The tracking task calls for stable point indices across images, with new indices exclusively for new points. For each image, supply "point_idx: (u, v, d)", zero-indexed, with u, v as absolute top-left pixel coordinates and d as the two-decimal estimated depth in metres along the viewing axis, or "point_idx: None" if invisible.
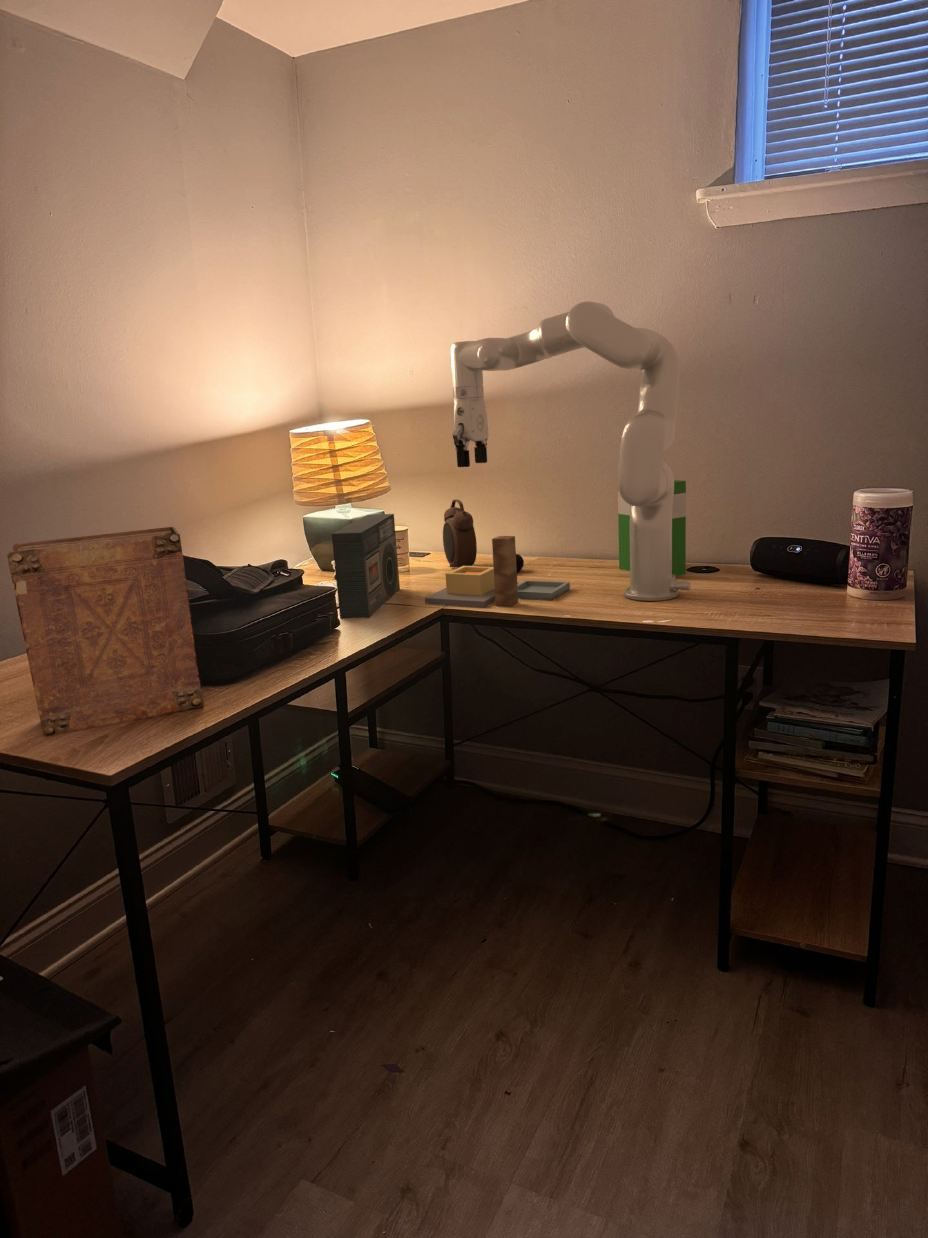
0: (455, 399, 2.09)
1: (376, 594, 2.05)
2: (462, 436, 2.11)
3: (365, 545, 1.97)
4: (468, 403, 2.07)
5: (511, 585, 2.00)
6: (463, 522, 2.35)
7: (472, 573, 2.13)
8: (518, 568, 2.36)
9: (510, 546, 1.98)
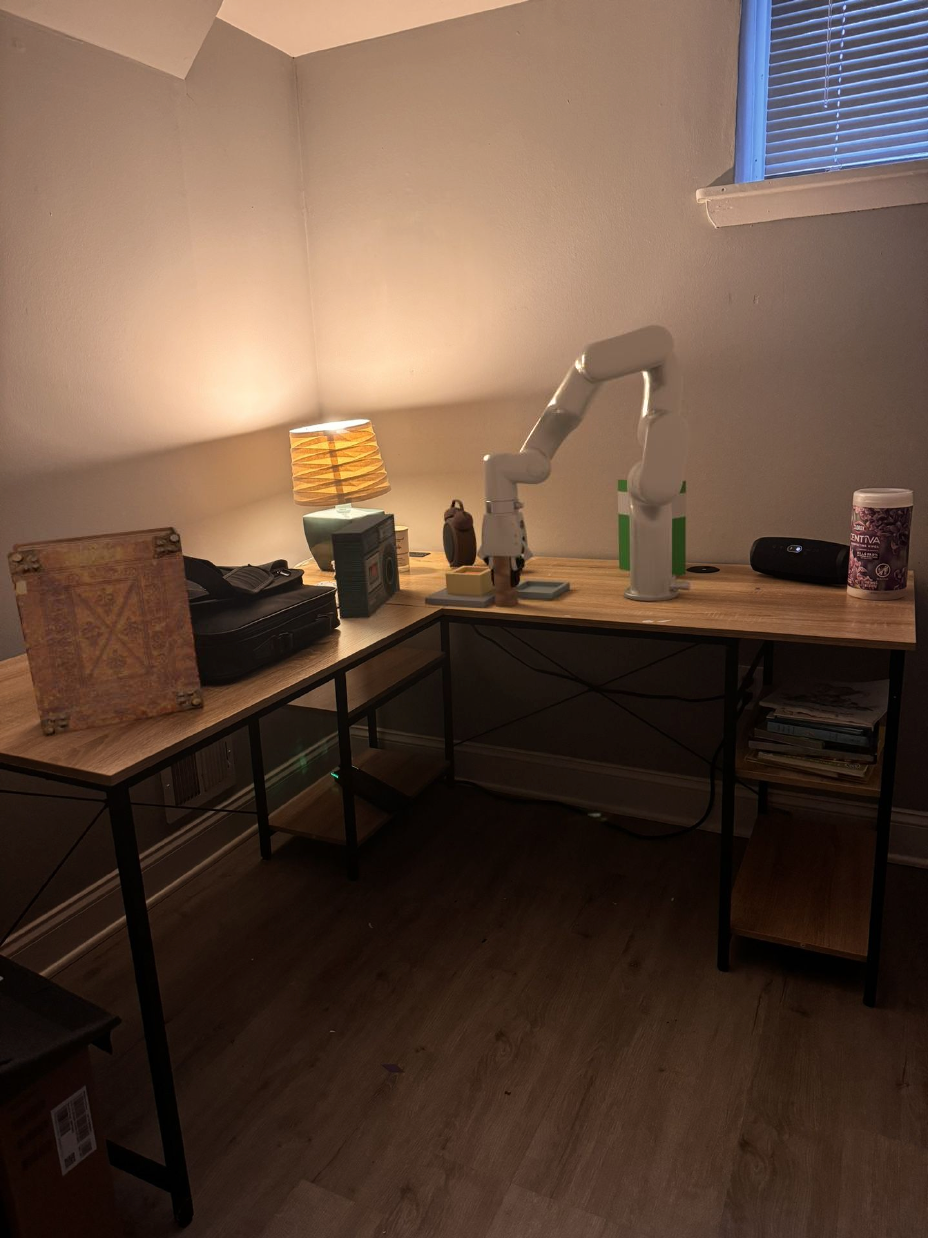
0: (510, 513, 1.94)
1: (376, 594, 2.05)
2: None
3: (365, 545, 1.97)
4: (522, 515, 1.97)
5: None
6: (463, 522, 2.35)
7: (472, 573, 2.13)
8: None
9: None
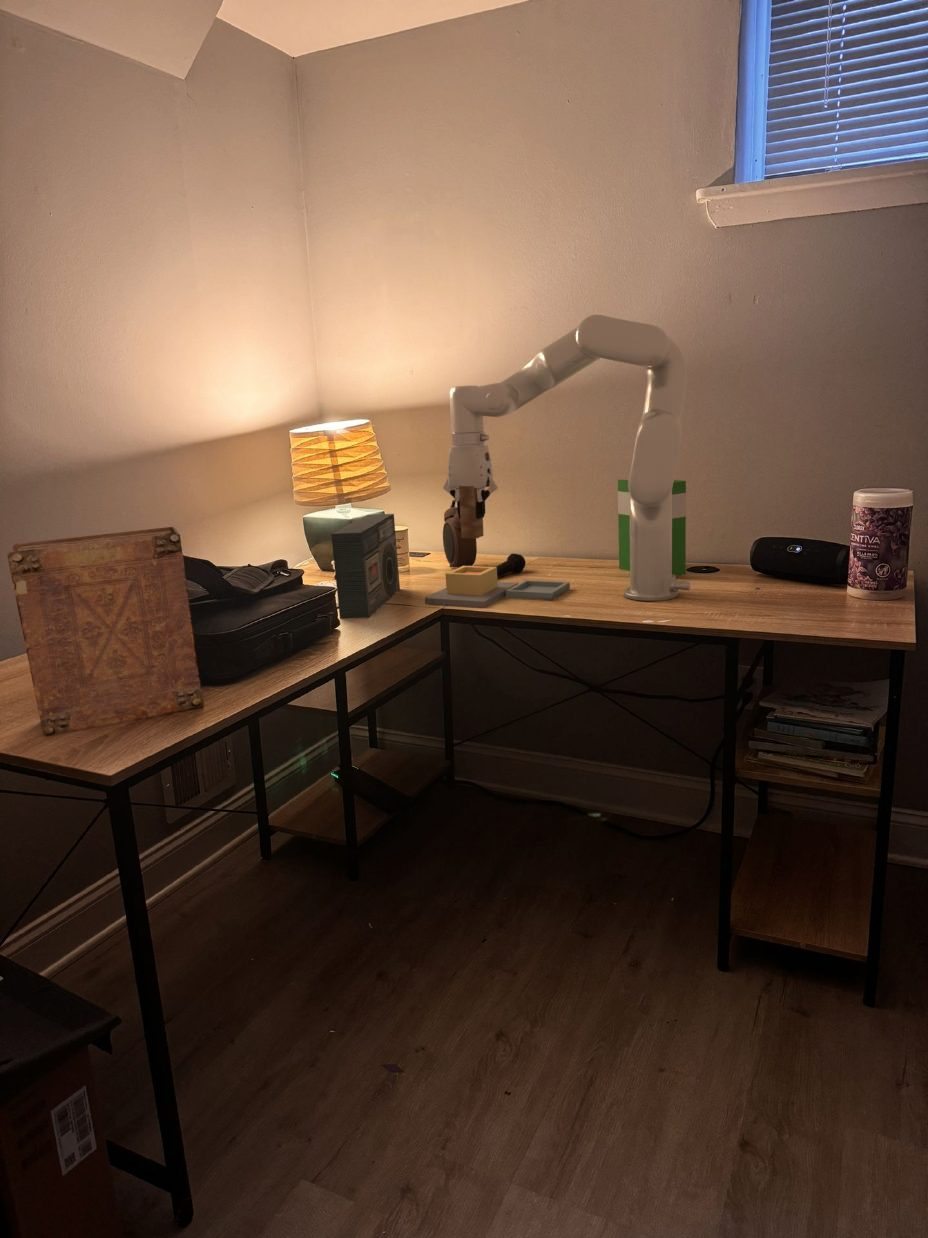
0: (476, 445, 1.99)
1: (376, 594, 2.05)
2: None
3: (365, 545, 1.97)
4: None
5: None
6: None
7: (472, 573, 2.13)
8: (520, 568, 2.35)
9: None
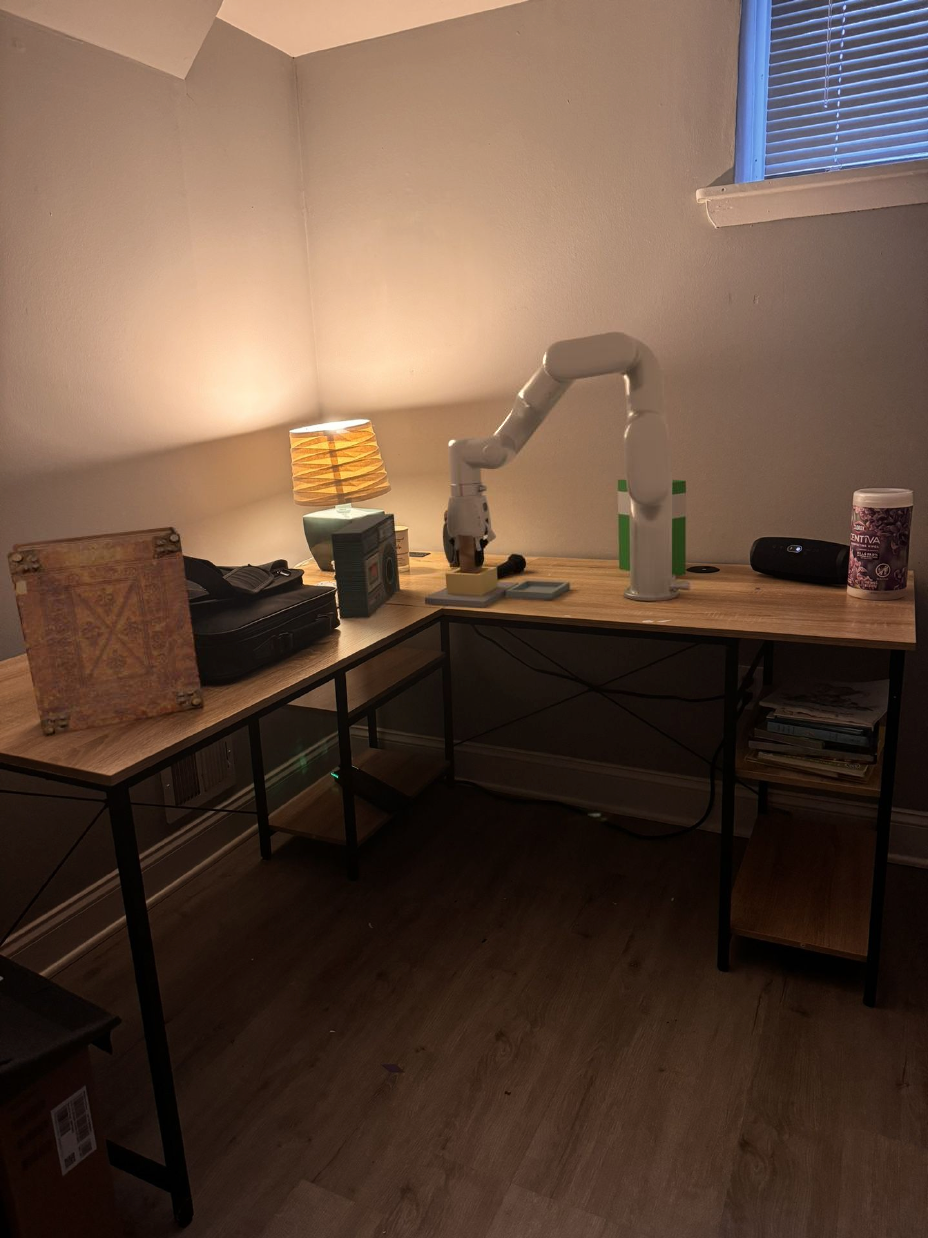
0: (474, 496, 2.04)
1: (376, 594, 2.05)
2: None
3: (365, 545, 1.97)
4: None
5: None
6: None
7: None
8: (520, 569, 2.35)
9: None
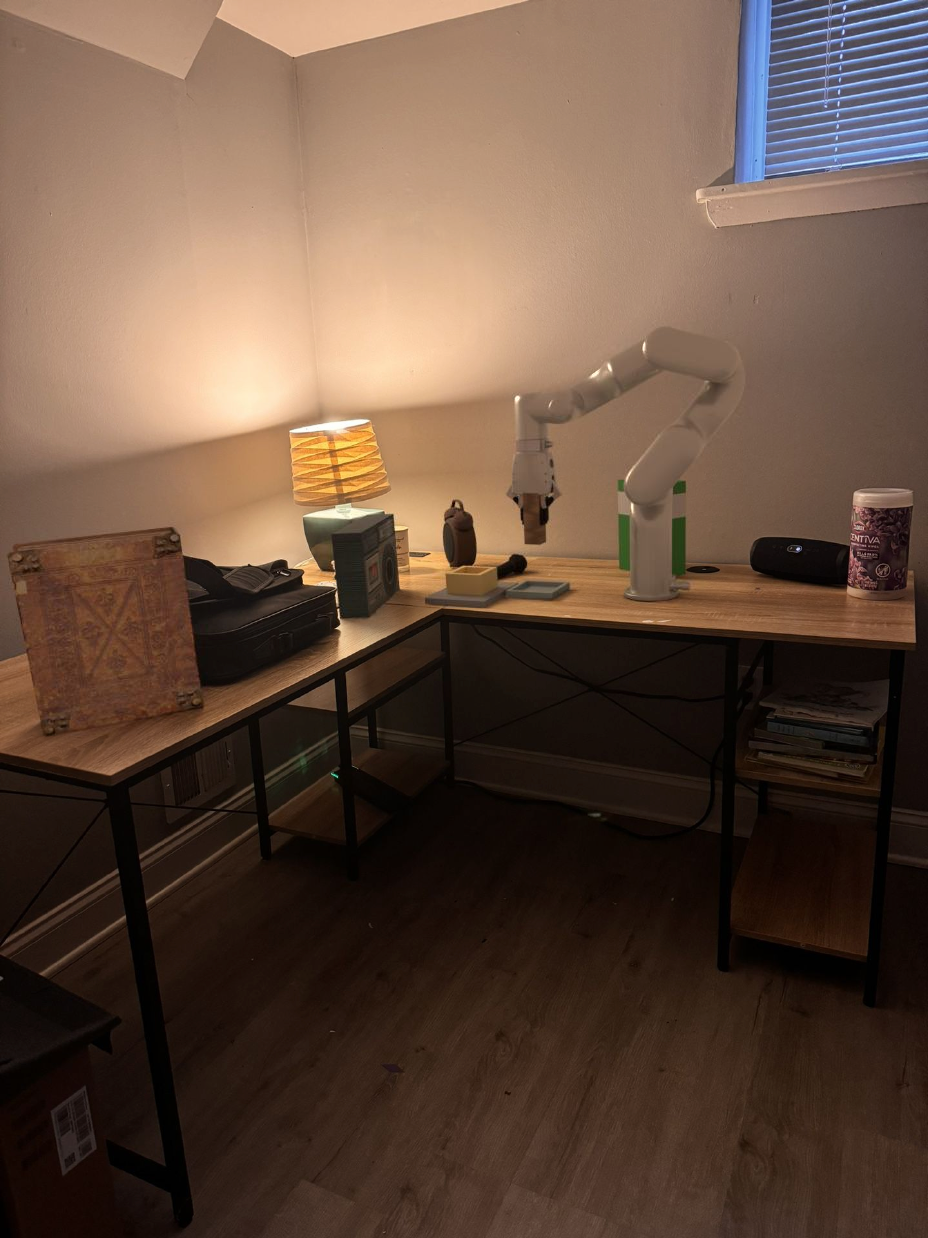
0: (541, 451, 2.00)
1: (376, 594, 2.05)
2: None
3: (365, 545, 1.97)
4: (552, 455, 2.03)
5: None
6: (463, 522, 2.35)
7: None
8: (521, 569, 2.35)
9: None
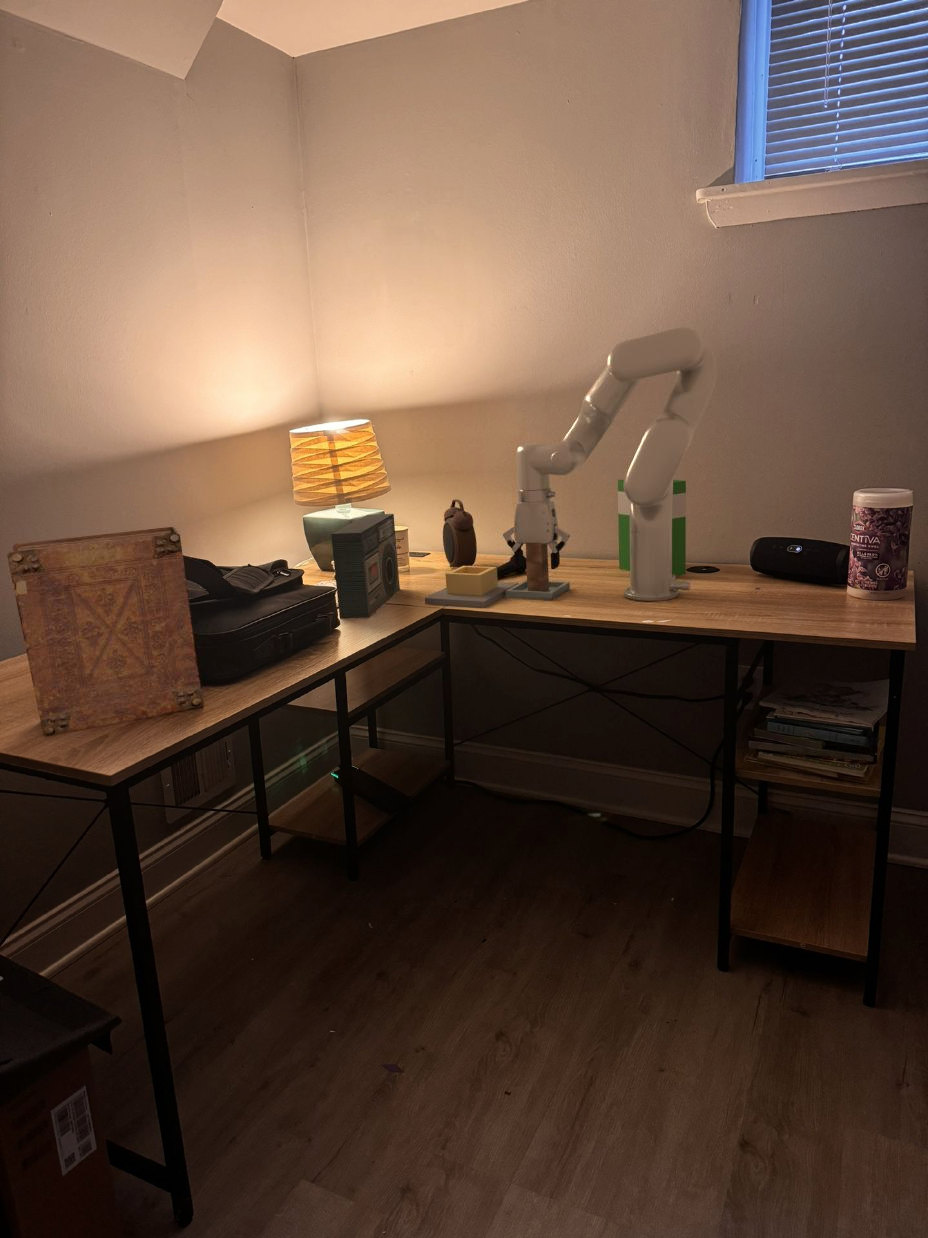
0: (543, 502, 2.03)
1: (376, 594, 2.05)
2: None
3: (364, 545, 1.97)
4: None
5: (543, 572, 2.08)
6: (463, 522, 2.35)
7: None
8: (522, 569, 2.34)
9: None
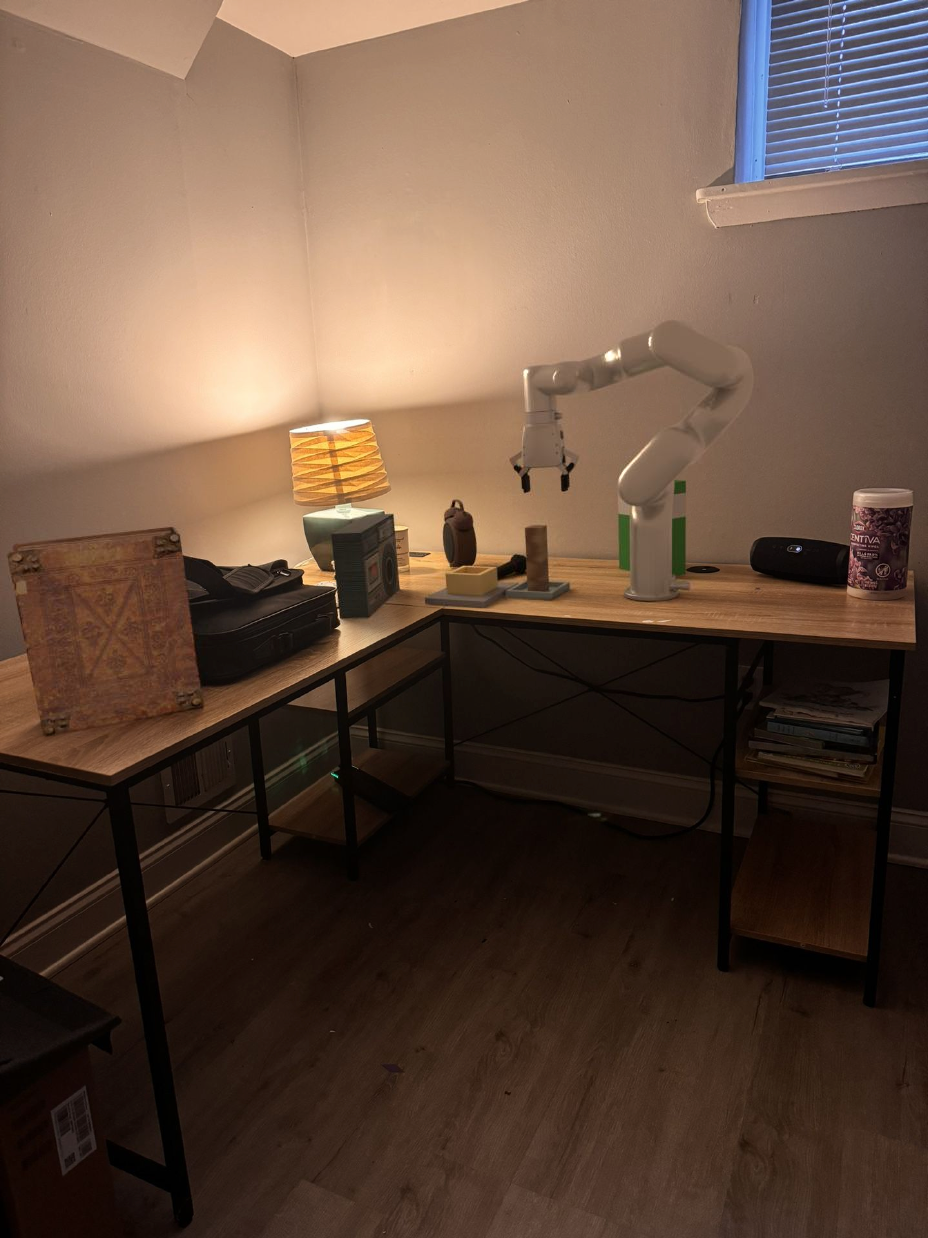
0: (551, 423, 2.02)
1: (376, 594, 2.05)
2: None
3: (364, 545, 1.97)
4: None
5: (543, 572, 2.08)
6: (463, 522, 2.35)
7: None
8: (522, 569, 2.34)
9: (542, 535, 2.06)
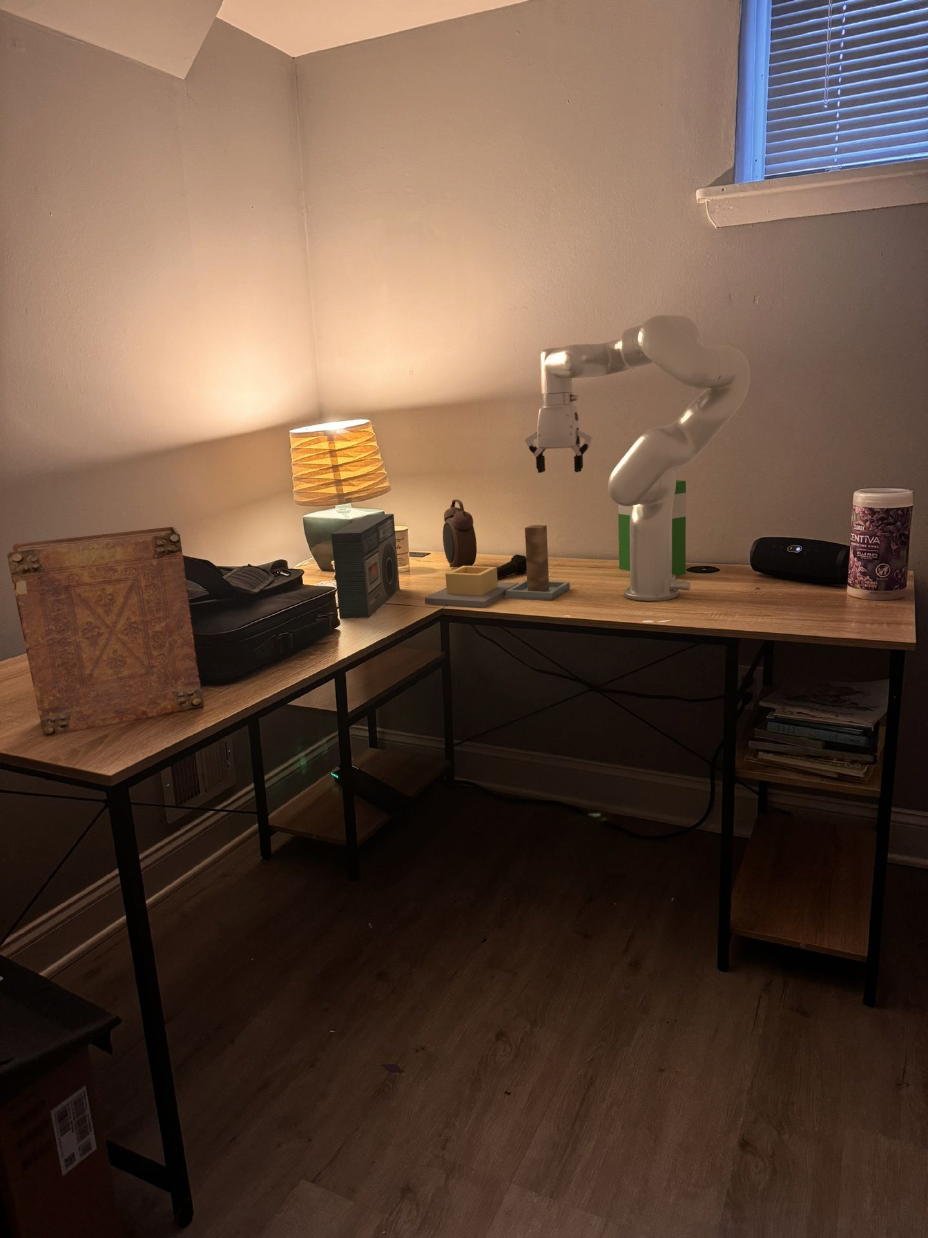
0: (566, 405, 2.06)
1: (376, 594, 2.05)
2: None
3: (364, 545, 1.97)
4: None
5: (543, 572, 2.08)
6: (463, 522, 2.35)
7: None
8: (523, 569, 2.34)
9: (542, 535, 2.06)
